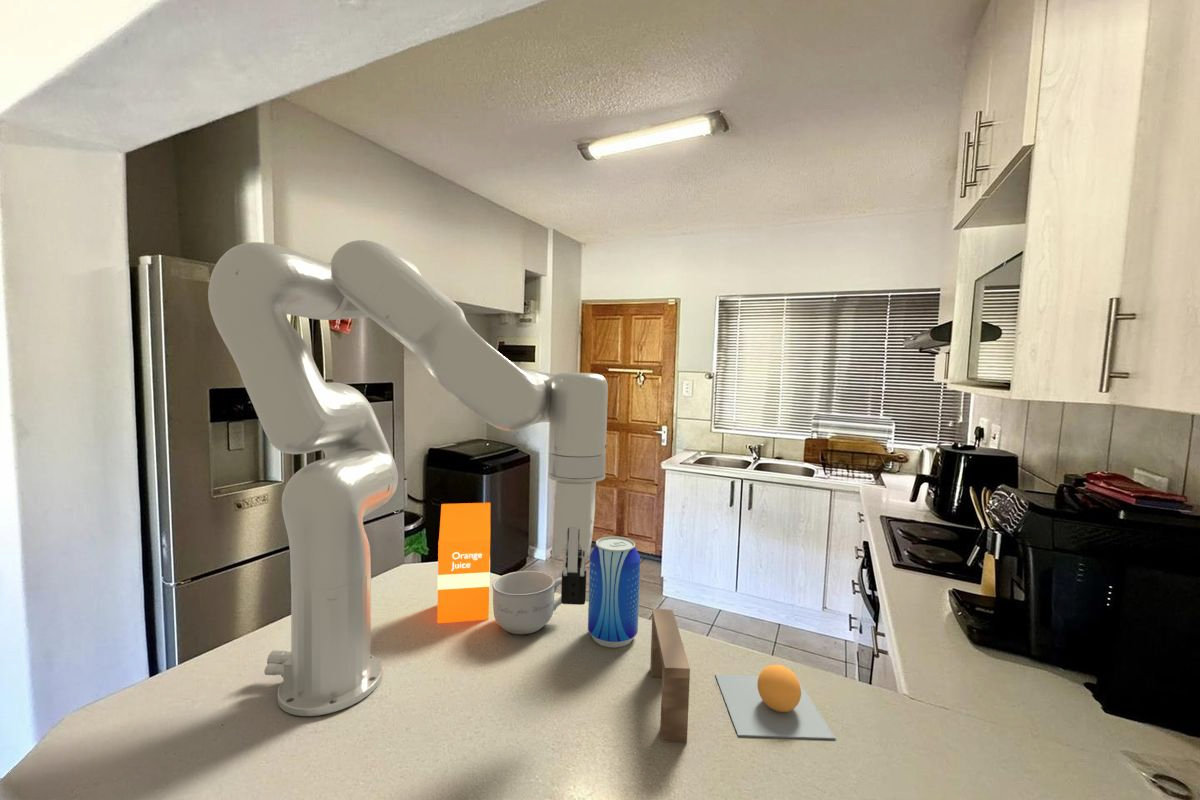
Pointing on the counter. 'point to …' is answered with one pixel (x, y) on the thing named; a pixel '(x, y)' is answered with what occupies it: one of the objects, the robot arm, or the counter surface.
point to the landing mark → (769, 712)
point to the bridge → (670, 675)
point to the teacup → (524, 600)
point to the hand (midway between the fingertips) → (573, 601)
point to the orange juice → (464, 562)
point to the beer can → (614, 591)
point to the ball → (779, 688)
